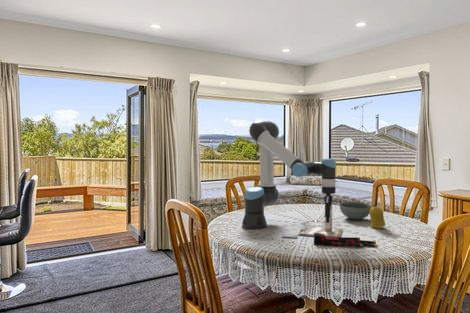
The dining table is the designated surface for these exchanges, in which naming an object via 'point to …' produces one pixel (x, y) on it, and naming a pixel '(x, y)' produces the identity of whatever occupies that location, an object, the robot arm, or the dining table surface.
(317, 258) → the dining table surface
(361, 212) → the bowl
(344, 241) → the toy
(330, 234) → the clipboard
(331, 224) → the pastel stick
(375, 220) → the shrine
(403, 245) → the dining table surface
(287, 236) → the grey striped tile
